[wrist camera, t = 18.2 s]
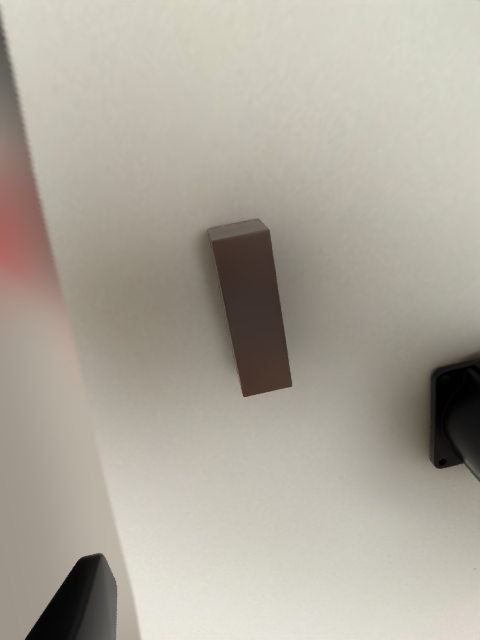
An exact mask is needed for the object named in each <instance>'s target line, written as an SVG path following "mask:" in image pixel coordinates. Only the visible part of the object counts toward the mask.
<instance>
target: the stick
mask: <svg viewBox="0 0 480 640" xmlns="http://www.w3.org/2000/svg"><path fill="white" fill-rule="evenodd" d="M208 233H209V238H210V243H211V248H212V253H213V257H214V262H215V267H216V272H217V277H218V282H219V286H220V291H221V296H222V301H223V306H224V311H225V315H226V320H227V325H228V330H229V335H230V340H231V344H232V349H233V354H234V359H235V364H236V369H237V373H238V377H239V381H240V385H241V389H242V393H243V397H247V396H252V395H256V394H261V393H265V392H270V391H274V390H279V389H283V388H288V387H292V380H291V373H290V366H289V360H288V353H287V346H286V339H285V332H284V326H283V319H282V312H281V305H280V299H279V292H278V285H277V278H276V271H275V265H274V258H273V251H272V244H271V237H270V231H269V229H268V228H267V227H266V226H265V225H264V224H263V223H262V222H261V221H260V220H259V219H253V220H249V221H244V222H239V223H234V224H229V225H224V226H219V227H214V228H209V229H208Z"/></svg>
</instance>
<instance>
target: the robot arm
mask: <svg viewBox="0 0 480 640" xmlns="http://www.w3.org/2000/svg"><path fill="white" fill-rule="evenodd" d="M443 376H445V377H444V378H443V379H442V380H441V378H442V377H443ZM440 459H441V460H440ZM430 460H431V462H432V463H433V465H434V466H435V467H436V468H438V469H442V468H446V467H451V466H455V465H459V464H464V465H465V466H466V467H467V468H468V469H469V470H470V472H471V473H472V474H473V475H474V476H475V477H476V478H477V480H478V481H479V482H480V358H479V359H477V360H473V361H468V362H464V363H459V364H455V365H451V366H446V367H442V368H439V369H437V370H436V371H434V373H433V374H432V378H431V444H430ZM116 618H117V585H116V581H115V578H114V576H113V573H112V571H111V569H110V567H109V565H108V562H107V560H106V558H105V557H104V555H103V554H101V553H98V554H93V555H89V556H85V557H82V558H80V559H79V560H78V561H77V563H76V564H75V566H74V567H73V569H72V570H71V572H70V573H69V575H68V576H67V578H66V579H65V581H64V582H63V584H62V585H61V586H60V588H59V589H58V591H57V592H56V594H55V596H54V597H53V598H52V600H51V601H50V603H49V604H48V606H47V607H46V609H45V610H44V612H43V613H42V615H41V616H40V618H39V619H38V621H37V622H36V624H35V625H34V627H33V628H32V629H31V631H30V632H29V634H28V635H27V637H26V639H25V640H116Z"/></svg>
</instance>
